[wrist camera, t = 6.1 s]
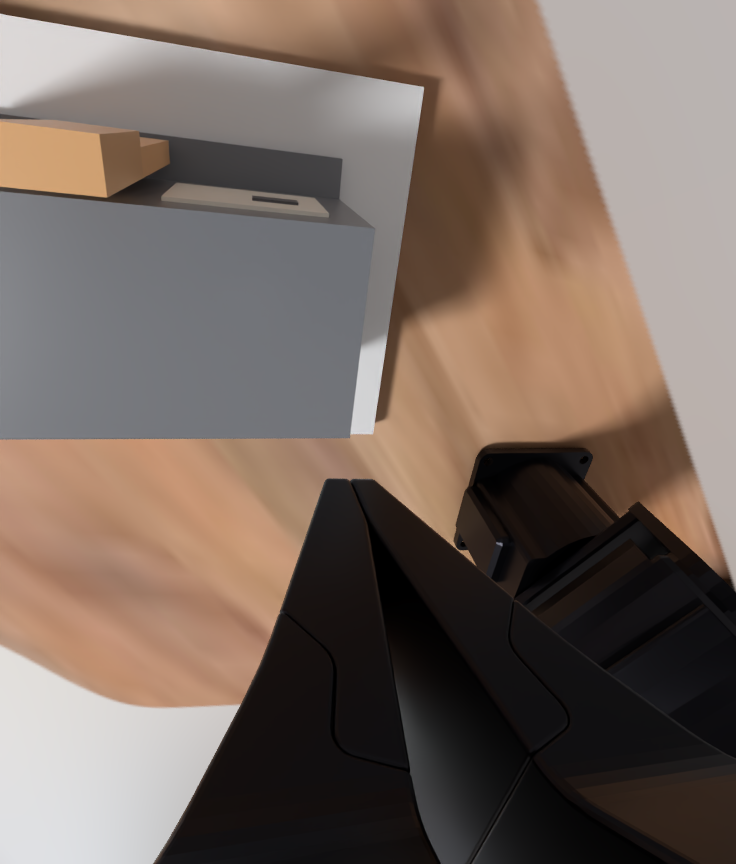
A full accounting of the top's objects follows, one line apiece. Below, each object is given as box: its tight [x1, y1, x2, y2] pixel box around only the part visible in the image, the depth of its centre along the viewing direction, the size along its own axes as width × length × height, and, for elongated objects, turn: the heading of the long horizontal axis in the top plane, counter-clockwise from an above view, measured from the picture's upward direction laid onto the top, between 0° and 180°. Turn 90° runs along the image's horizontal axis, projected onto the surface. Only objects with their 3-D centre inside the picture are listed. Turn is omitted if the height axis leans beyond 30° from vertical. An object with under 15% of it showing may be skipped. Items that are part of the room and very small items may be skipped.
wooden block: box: [0, 119, 170, 197], centre depth 11 cm, size 5×1×8 cm, turn 83°
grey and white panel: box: [0, 14, 424, 439], centre depth 15 cm, size 18×13×7 cm
